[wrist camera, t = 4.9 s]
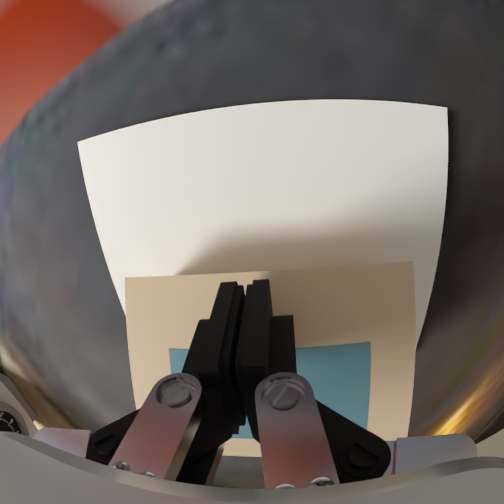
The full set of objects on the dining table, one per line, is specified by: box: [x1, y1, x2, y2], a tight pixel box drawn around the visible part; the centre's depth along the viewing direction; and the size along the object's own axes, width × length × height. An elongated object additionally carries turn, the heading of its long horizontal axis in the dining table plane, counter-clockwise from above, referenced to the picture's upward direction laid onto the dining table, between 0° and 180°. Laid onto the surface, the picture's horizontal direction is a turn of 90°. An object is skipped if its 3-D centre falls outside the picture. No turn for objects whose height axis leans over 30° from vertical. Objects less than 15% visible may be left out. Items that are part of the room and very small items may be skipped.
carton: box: [125, 261, 416, 457], centre depth 13 cm, size 12×8×5 cm
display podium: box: [78, 100, 448, 350], centre depth 17 cm, size 20×18×2 cm
